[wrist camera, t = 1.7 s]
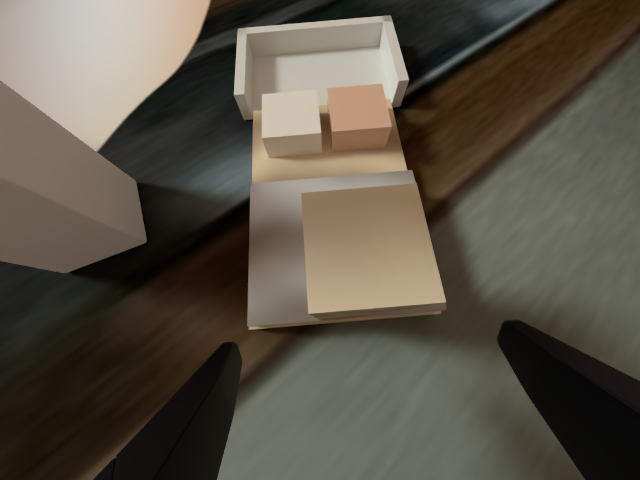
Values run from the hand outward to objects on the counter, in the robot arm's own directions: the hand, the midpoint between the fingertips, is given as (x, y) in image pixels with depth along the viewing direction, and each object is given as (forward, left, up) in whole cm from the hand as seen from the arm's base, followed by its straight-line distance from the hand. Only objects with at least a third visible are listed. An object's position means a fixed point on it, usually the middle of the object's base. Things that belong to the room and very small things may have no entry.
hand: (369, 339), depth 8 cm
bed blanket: (+6, -2, -9) cm, 11 cm away
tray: (+25, -9, -11) cm, 29 cm away
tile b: (+16, -9, -9) cm, 21 cm away
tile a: (+18, -3, -9) cm, 21 cm away
